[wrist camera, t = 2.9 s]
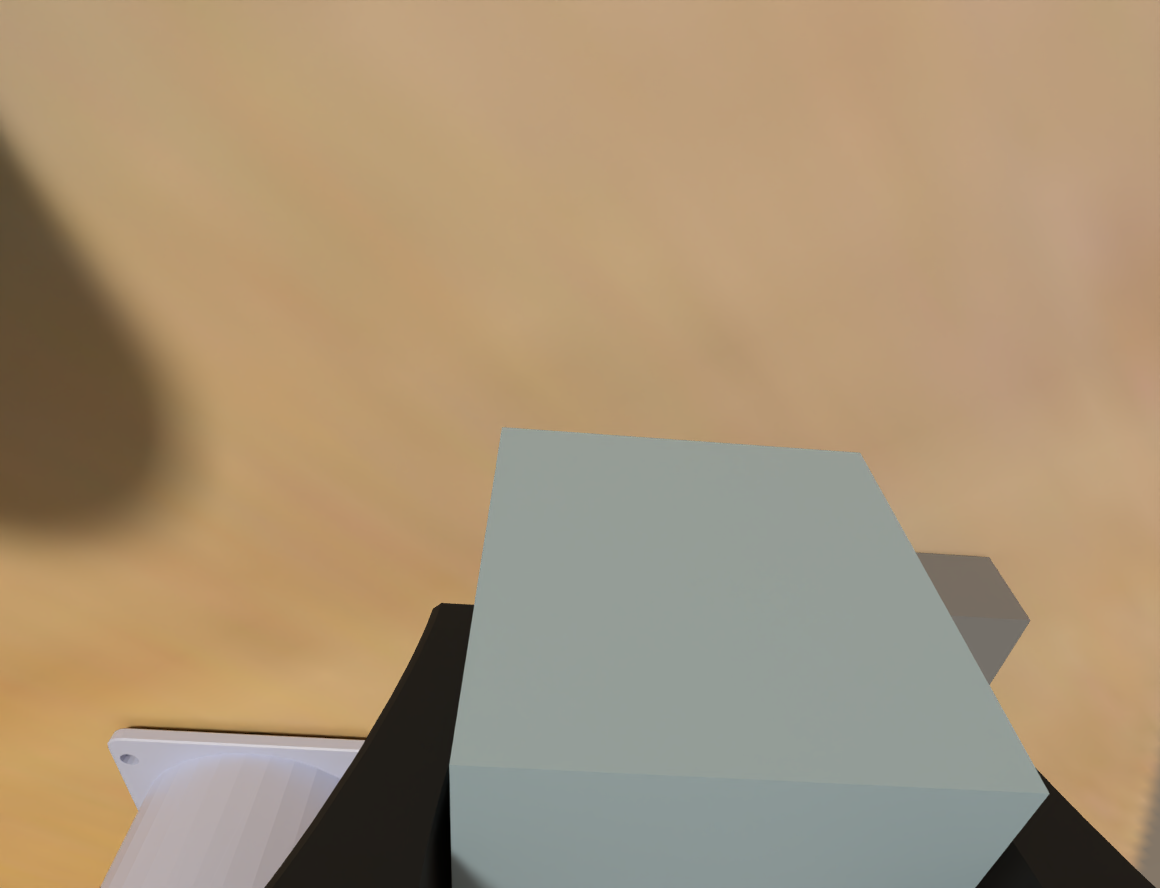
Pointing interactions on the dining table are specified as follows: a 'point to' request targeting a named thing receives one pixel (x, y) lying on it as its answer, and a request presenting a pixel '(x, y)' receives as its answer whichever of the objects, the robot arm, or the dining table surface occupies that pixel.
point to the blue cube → (717, 681)
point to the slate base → (978, 606)
